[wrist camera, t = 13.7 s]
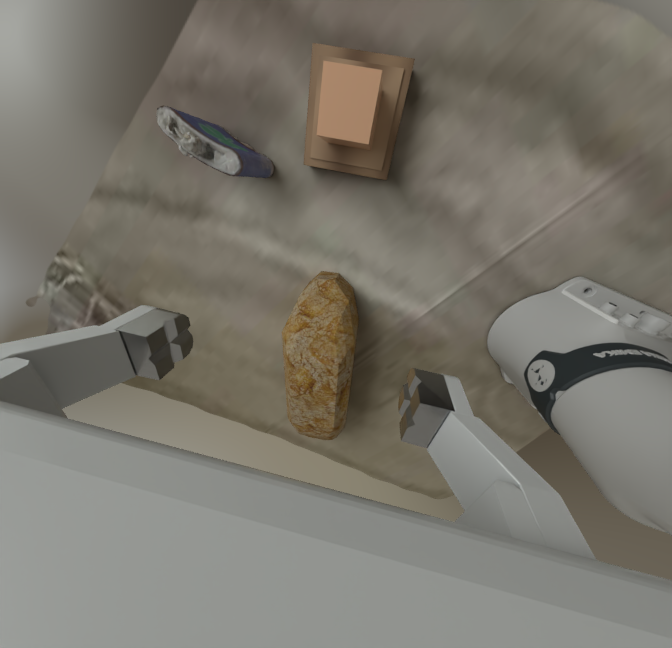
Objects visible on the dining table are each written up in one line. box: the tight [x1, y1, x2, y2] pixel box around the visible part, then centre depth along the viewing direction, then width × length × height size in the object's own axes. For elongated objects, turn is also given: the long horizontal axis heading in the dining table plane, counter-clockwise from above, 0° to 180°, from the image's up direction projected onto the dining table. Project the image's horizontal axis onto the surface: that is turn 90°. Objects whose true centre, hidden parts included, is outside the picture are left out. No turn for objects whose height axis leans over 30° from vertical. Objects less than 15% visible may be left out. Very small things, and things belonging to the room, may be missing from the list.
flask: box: [156, 106, 274, 178], centre depth 27 cm, size 9×3×11 cm, turn 60°
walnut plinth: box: [304, 43, 415, 180], centre depth 27 cm, size 10×10×3 cm
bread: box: [282, 271, 359, 440], centre depth 43 cm, size 36×11×10 cm, turn 177°
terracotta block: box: [317, 61, 383, 150], centre depth 24 cm, size 5×5×5 cm
